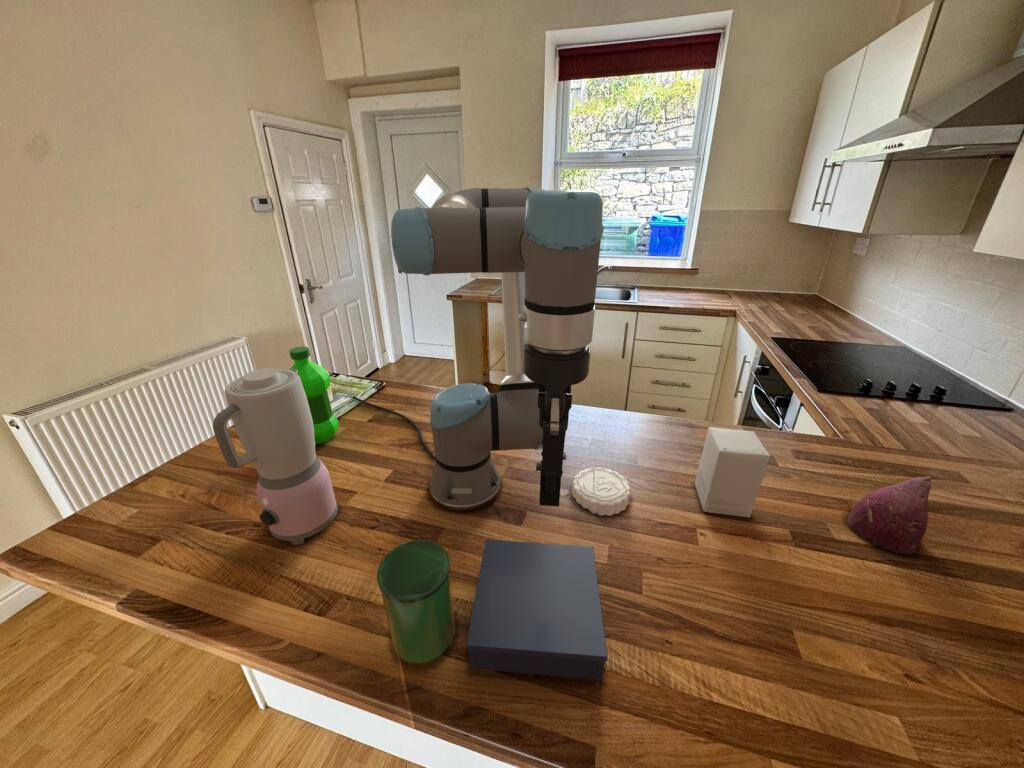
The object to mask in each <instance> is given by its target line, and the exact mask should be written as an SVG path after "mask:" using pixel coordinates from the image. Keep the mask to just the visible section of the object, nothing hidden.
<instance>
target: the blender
mask: <svg viewBox="0 0 1024 768" xmlns="http://www.w3.org/2000/svg"><path fill="white" fill-rule="evenodd" d="M297 373H298V370H296V369H290V368H289V369H285V368H272V367H267V368H266V367H263V368H258V369H253V370H251V371H248V372H246V373H245V374H243V375H242V376H240V377H238V378H235V379H234V380H232V381H231V382H229V383H228V384H227V385H226V387H225V389H224V395H225V399H226V403H227V407H225V408H224V409H222V410H220V411H219V412H218V413H217V414H216V416H214V419H213V422H212V430H213V433H214V436H215V439H216V442H217V444H218V447H219V449H220V451H221V453H222V456H223V458H224V460H225V462H226V464H227V466H228V467H229V468H233V469H239V468H243V467H244V466H247V465H248V464H252V465H253V467H254V468H255V470H256V471H257V473H258V480H257V483H256V496H257V500H258V503H259V505H260V508H261V513H260V514H259V520H260V521H261V523H262V524H264V525H265V526H267V527H268V529H269V532H270V534H271V536H273V538H275V539H277V540H280V541H285V542H286V541H287V542H290V543H291V545H292V546H296V545H303V544H305V542H306V541H305V539H307V538H309V537H312V536H314V535H316V534H318V533H320V532H321V531H323V530H324V529H325V528H327V527H328V526H329V525H330V524H331V523H332V522H333V521H334V519H335V518H336V516H337V514H338V512H339V505H338V501H337V499H336V496H335V492H334V488H333V483H332V479H331V476H330V472H329V470H328V467H326V465H325V464H324V462H323V461H322V460H321V459H319V458H318V456H317V453H316V443H315V438H314V426H313V420H312V416H311V412H310V408H309V404H308V400H307V397H306V394H305V391H304V388H303V385H302V382H301V379H300V376H299V375H298V374H297ZM230 420H232V424H233V426H234V429H235V431H236V435H237V438H238V440H239V441H240V444H241V446H242V448H243V450H244V452H245V453H244V454H241V455H238V453H237V450H236V447H235V445H234V443H233V440H232V437H231V435H230V432H229V429H228V423H229V421H230Z"/></svg>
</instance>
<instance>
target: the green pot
mask: <svg viewBox="0 0 1024 768" xmlns="http://www.w3.org/2000/svg"><path fill="white" fill-rule="evenodd" d="M450 571H451V560H450V556H449V553H448V552H447V550H446V549H445V548H444V547H443V546H442V545H441V544H440V543H438V542H436V541H433V540H429V539H413V540H409V541H405V542H402V543H401V544H398V545H397V546H396V547H394V548H392V549H391V550H390V551H389V552H388V553H386V555H385V556H384V557H383V559H382V560H381V562H380V563H379V566H378V568H377V572H376V582H377V586H378V589H379V591H380V592H381V597H382V601H383V606H384V610H385V615H386V619H387V624H388V628H389V633H390V637H391V641H392V642H391V643H392V646H393V650H394V653H395V655H396V656H397V658H398V659H399V660H401V659H402V660H403V661H406V662H408V663H412V664H424V663H428V662H430V661H433V660H435V659H437V658H438V657H440V656H441V655H442V654H444V652H445V651H446V650H447V649H448V648H449V646H450V645H451V643H452V641H453V639H454V636H455V633H456V622H455V611H454V602H453V594H452V583H451V582H452V581H451V575H450V574H451V573H450Z"/></svg>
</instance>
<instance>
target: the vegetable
mask: <svg viewBox="0 0 1024 768" xmlns="http://www.w3.org/2000/svg"><path fill="white" fill-rule="evenodd" d="M931 479H932V476H918V477H913V478H911V479H908V480H905V481H902V482H900V483H897V484H893V485H888V486H883V487H879V488H877V489H875V490H872V491H871V492H869V493H867V494H865V495H864V496H863V497H862V498H860V499H859V500H858V501H857V502H856V503H855V504H854V505H853V507H852V508H851V509H850V512H849V515H848V518H847V525H848V527H849V528H850V529H851V530H852V531H853V532H854V533H855V534H857V535H858V536H859V537H860V538H862V539H863V540H865V541H867V542H869V543H871V544H872V545H874V546H876V547H879V548H882V549H885V550H887V551H890V552H893V553H897V554H900V555H901V554H902V555H911V554H914V553H916V551H917V550H918V547H919V546H920V544H921V542H922V541H923V538H924V535H925V533H926V531H927V528H928V522H929V512H928V509H929V508H928V506H929V505H928V504H929V495H930V491H931V489H932V481H931Z"/></svg>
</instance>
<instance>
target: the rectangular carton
mask: <svg viewBox="0 0 1024 768" xmlns="http://www.w3.org/2000/svg"><path fill="white" fill-rule="evenodd" d="M770 460H771V455H770V454H769V453H768V451H767V449H766V447H765V446H764V445H763V443H762V441H761V440H760V439H759V437H758V435H757V434H756V432H755V431H752V430H744V429H743V430H742V429H734V428H733V429H732V428H731V429H730V428H723V427H713V426H712V427H711V426H709V427H708V428H707V433H706V436H705V441H704V445H703V449H702V454H701V458H700V461H699V466H698V470H697V474H696V478H695V482H694V486H695V489H696V493H697V495H698V499H699V502H700V505H701V508H702V511H703V512H705V513H711V514H717V515H718V514H720V515H727V516H734V517H741V518H751V515H752V512H753V510H754V506H755V504H756V500H757V497H758V495H759V492H760V489H761V486H762V484H763V480H764V477H765V474H766V472H767V468H768V465H769V462H770Z"/></svg>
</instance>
